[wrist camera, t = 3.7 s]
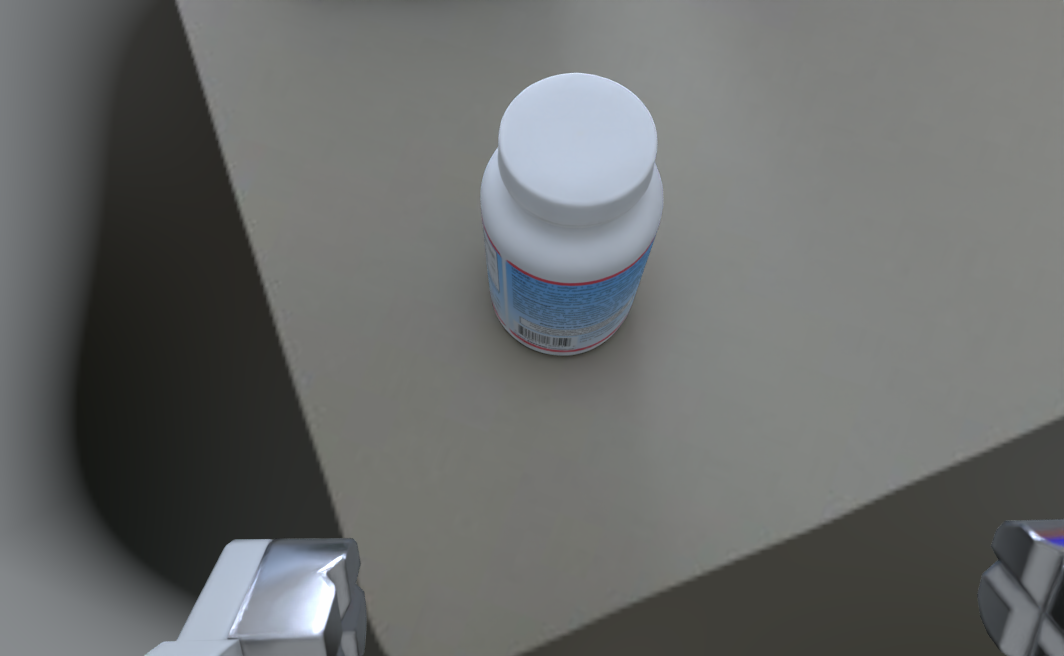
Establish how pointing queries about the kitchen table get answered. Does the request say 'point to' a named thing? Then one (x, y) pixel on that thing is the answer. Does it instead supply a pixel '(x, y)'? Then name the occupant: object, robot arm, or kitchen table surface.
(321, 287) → the kitchen table surface
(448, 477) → the kitchen table surface
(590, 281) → the pill bottle
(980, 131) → the kitchen table surface
